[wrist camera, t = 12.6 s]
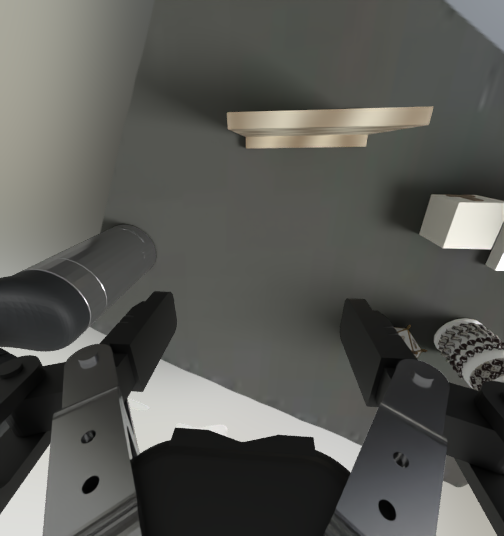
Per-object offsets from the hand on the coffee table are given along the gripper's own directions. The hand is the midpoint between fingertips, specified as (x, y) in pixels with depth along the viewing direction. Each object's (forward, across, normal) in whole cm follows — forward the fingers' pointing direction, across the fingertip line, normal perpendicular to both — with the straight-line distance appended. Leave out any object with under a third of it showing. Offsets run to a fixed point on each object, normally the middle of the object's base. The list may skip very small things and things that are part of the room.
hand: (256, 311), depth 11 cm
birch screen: (+29, -5, -10) cm, 31 cm away
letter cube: (+28, -27, +1) cm, 39 cm away
